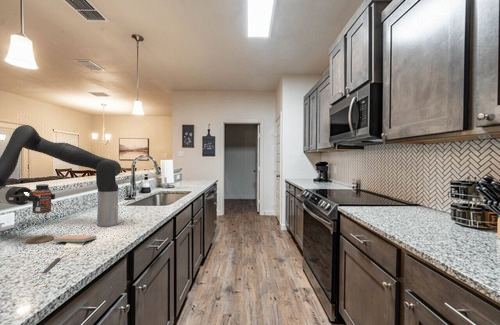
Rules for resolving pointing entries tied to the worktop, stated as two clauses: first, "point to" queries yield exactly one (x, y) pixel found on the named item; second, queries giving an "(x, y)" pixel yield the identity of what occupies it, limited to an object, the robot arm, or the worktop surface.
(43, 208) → the supplement bottle
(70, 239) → the tile
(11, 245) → the worktop surface
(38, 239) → the coaster
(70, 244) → the spatula
